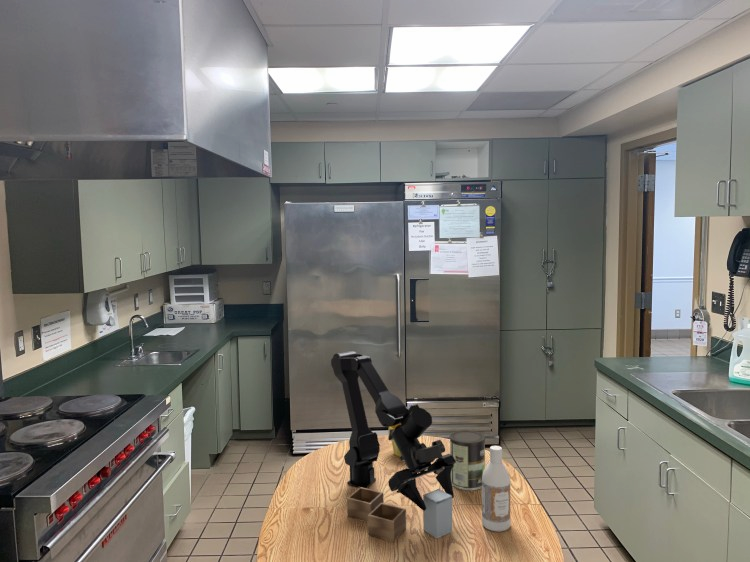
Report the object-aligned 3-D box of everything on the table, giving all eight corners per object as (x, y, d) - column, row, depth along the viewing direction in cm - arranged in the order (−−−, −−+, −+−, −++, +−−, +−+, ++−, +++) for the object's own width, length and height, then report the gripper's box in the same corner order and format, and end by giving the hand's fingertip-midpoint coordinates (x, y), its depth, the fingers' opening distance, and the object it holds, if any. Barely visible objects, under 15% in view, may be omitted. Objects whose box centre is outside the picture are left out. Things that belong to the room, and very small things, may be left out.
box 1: (347, 516, 138) (347, 498, 138) (360, 504, 144) (360, 486, 144) (370, 523, 135) (370, 504, 134) (383, 510, 141) (383, 492, 141)
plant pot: (425, 452, 179) (425, 424, 178) (405, 462, 171) (405, 432, 170) (402, 444, 186) (402, 417, 185) (382, 453, 178) (381, 425, 177)
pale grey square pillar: (423, 529, 131) (423, 494, 131) (439, 523, 134) (438, 488, 134) (436, 538, 127) (436, 502, 127) (452, 531, 130) (452, 496, 130)
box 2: (368, 534, 130) (367, 515, 129) (381, 521, 136) (381, 502, 135) (393, 542, 126) (393, 522, 126) (406, 528, 132) (405, 508, 132)
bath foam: (489, 534, 129) (489, 454, 127) (477, 519, 136) (477, 443, 134) (515, 530, 130) (515, 451, 129) (502, 516, 137) (502, 441, 136)
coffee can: (485, 476, 160) (485, 430, 159) (485, 492, 150) (485, 443, 149) (450, 473, 162) (450, 428, 161) (448, 489, 152) (448, 441, 151)
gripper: (394, 440, 127) (425, 502, 119) (450, 423, 138) (482, 479, 130) (376, 461, 134) (404, 521, 126) (430, 443, 145) (460, 497, 137)
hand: (439, 504), depth 130 cm, fingers open, 9 cm apart
